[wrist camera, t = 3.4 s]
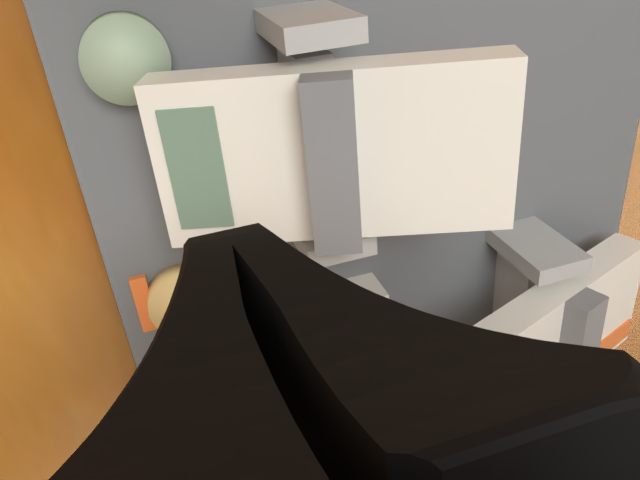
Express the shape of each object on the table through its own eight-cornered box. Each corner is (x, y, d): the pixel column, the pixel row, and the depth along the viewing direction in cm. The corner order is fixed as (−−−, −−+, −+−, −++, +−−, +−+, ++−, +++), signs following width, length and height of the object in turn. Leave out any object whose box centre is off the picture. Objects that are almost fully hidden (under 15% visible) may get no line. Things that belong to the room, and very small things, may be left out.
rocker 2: (616, 232, 23) (670, 252, 21) (599, 324, 25) (646, 348, 24) (453, 338, 18) (508, 371, 17) (450, 439, 21) (498, 476, 19)
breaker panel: (657, -115, 19) (784, -120, 15) (568, 413, 30) (628, 478, 27) (15, -45, 15) (-13, -30, 11) (192, 536, 26) (205, 633, 23)
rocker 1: (514, 44, 14) (538, 65, 13) (502, 207, 17) (520, 244, 15) (147, 72, 15) (122, 96, 13) (182, 226, 17) (164, 264, 16)
